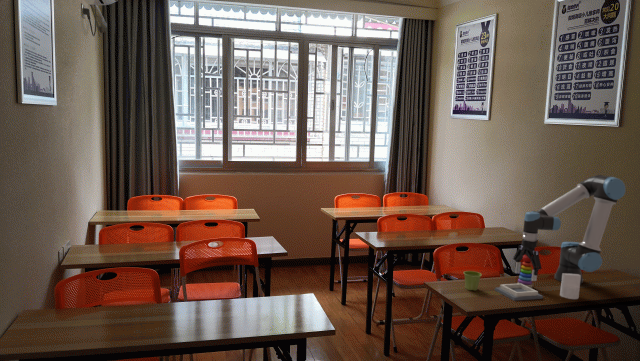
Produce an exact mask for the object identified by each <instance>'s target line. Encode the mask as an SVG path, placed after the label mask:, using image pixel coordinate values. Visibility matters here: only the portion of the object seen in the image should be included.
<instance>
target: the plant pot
mask: <svg viewBox="0 0 640 361" xmlns="http://www.w3.org/2000/svg"><path fill="white" fill-rule="evenodd" d="M463 274H464V275H463V276H464V284H465V289H466V290H468V291H474V292H475V291H478V287H479V284H480V279H481V277H482V276H483V275H482V273H481V272H478V271H475V270H466V271H463Z"/></svg>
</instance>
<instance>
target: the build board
mask: <svg viewBox="0 0 640 361" xmlns="http://www.w3.org/2000/svg"><path fill="white" fill-rule="evenodd" d="M494 291H495V292H497V293H499V294H501V295H502V296H505V297H507V298H508V299H510V300H512V301H514V302H515V301H528V300H529V301H530V300H531V301H532V300H541V299H544V295H542V294H540V293H539V291H538V290H535V289H533V287H532V288H530V287H527V286H525V285H523V284H521V283H520V284H517V283H503V284H499V286H498V287H494Z"/></svg>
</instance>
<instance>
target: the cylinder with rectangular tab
mask: <svg viewBox="0 0 640 361" xmlns="http://www.w3.org/2000/svg"><path fill="white" fill-rule="evenodd" d="M580 279H581V275H579V274H567V273H562V281H560V282H561V283H560V289H559V290H560V291H559V296H560V297H562V298H565V299H568V300H578V299H579V297H580V296H579V295H580V288H581V287H580V286H581V284H580Z"/></svg>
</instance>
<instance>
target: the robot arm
mask: <svg viewBox="0 0 640 361" xmlns="http://www.w3.org/2000/svg"><path fill="white" fill-rule="evenodd" d="M626 191H627V190H626V185H625V183H624V181H623V180H621V179H620V178H618V177H615V176H608V175H603V174H596V175H593V176H590V177H588V178H586V179H584V180H582V181H581V182H579V183H577V184H576V187H574V188H573V189H571V190H569V191H568V192H566V193H564V194H562V195H561V196H559V197H558V198H556V199H555V200H553V201H551V202H549V203H547V204H546V205H544V206H543V207H541V208H539V209H538V210H531V211H526V212H525V214H524V219H523V221H524V222H523V230H522V240H521V245H518V246H517V247H518V248H517V250H516V252H515V254H514V256H513V258H512V259H513V260H514V261H515V265H514V266H515V269H514V270H515V271H514V273H515V274H520V272H521V266H522V260H523V256H524V255H527V256H528V257H529V258H530V260H531V263H532V269H531V270H532V273H531V274H532V279H531V281H532V282H537V278H538V275H539V270H542V264H541V260H540V251H539V250H535V249H536V248H537V245H538V244H537V240H538V234H539V231H558V230H560V229H561V225H562V221H561V219H560V217H558V216H557V215H558V214H560V213H562V212H563V211H566V210H567V209H569V208H570V207H572V206H573V205H575V204H577V203H579V202H580V201H582V200H583V199H589V198H591V197H593V199H594V200H595V201H594V205H593V207H592V211H591V214H590V218H589V221H588V223H587V227H586V230H585V233H584V236H583V238H582V241H581V242H578V241H577V242H576V241H563V242H561V246H560V255H559V263H558V264H559V265H558V267H557V269H556V272H555V273H554V279H555V280H556V281H559V282H561V281H562V273H567V274H579V275H581V279H580V285H582V284H583V283H584V278H583V272H582V271H584V272H586V273H587V272H588V273H592V272H595V271H597V270H599V268H601V266H602V264H603V258H602V256H601V252H602V249H601V247H600V246H601V242H602V238H603V235H604V233H605V230H606V227H607V224H608V220H609V218H610V215H611V211H612V208H613V206H615V205H616V204H617V203H618V201H619V200H620V199H621V198H623V197H624V196H625V194H626Z"/></svg>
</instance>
